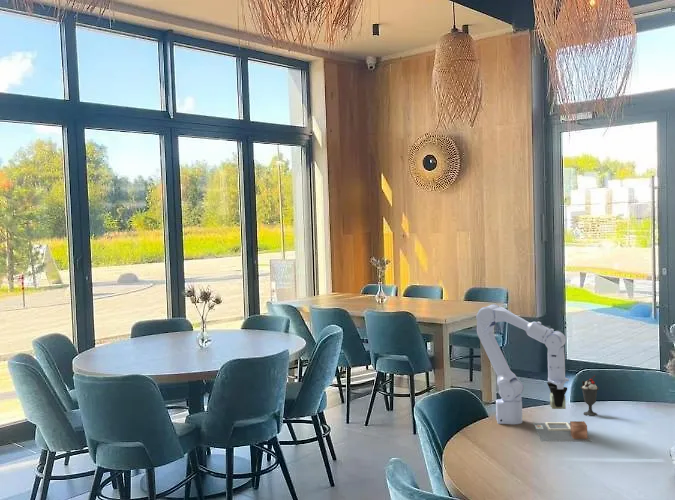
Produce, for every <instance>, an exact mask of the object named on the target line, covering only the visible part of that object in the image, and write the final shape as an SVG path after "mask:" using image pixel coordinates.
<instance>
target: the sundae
mask: <svg viewBox="0 0 675 500" xmlns="http://www.w3.org/2000/svg"><path fill="white" fill-rule="evenodd" d="M595 377H596V375H593V376H592V377H591V378H589V379H588V380H586V381H584V380H582V385H581V386H580V389H581V390H582V394H583V396H582V397H583V400H584V403H585V404H586V405H588V410H587V411H585V412H583V415H585V416H587V415H589V417H596V416H598V412H594V410H593V405H594V404H595V403H596V401H597V394H598V391H599V389H600V387H599V386H597V384H596V383H595V381H594V378H595ZM595 415H596V416H595Z"/></svg>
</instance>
